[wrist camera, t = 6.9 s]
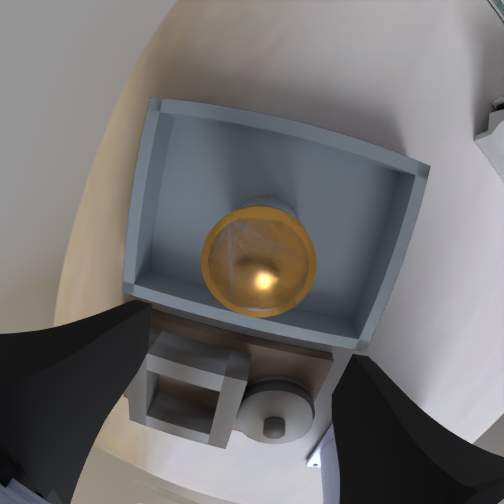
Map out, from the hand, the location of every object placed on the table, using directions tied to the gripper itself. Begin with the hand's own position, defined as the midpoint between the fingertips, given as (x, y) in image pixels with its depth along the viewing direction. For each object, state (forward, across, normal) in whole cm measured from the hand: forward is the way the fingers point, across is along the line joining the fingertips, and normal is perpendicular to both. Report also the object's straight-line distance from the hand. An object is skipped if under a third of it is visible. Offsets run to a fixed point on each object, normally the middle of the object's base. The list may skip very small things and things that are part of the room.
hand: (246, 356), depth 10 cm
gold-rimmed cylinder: (+10, 0, -2) cm, 10 cm away
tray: (+10, 0, -3) cm, 11 cm away
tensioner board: (+10, +1, +11) cm, 15 cm away
